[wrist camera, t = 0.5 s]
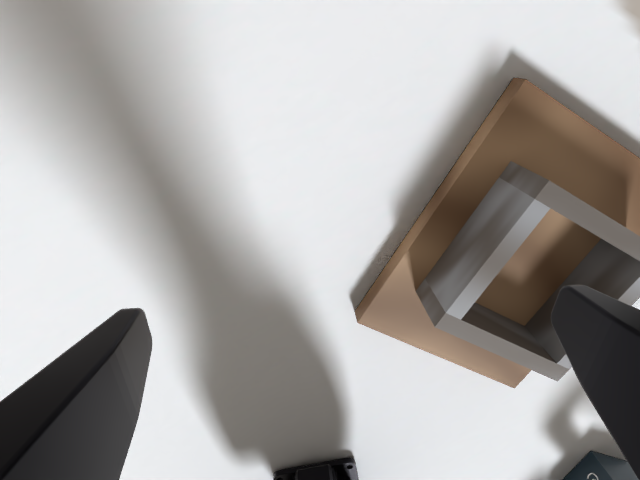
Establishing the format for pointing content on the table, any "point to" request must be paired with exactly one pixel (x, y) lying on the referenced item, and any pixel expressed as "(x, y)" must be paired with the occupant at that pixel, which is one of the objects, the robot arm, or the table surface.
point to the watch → (601, 468)
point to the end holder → (514, 241)
